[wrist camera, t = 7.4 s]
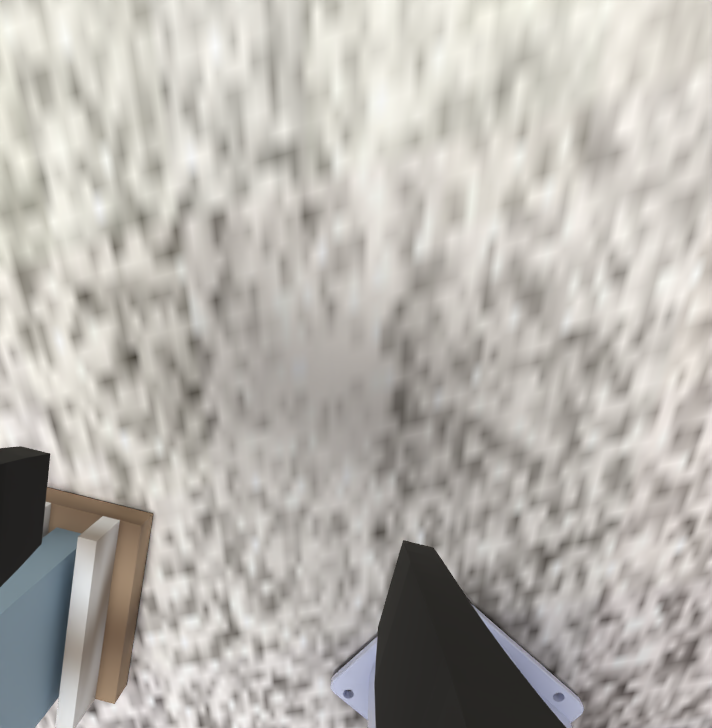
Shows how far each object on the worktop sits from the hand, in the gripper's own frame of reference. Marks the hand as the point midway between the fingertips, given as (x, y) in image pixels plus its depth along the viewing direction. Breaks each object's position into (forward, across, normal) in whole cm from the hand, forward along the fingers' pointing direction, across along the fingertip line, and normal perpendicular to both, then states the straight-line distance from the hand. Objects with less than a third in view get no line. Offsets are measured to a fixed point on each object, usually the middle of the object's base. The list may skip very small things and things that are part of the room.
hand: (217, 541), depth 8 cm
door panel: (+9, +9, +12) cm, 18 cm away
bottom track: (+10, +9, +12) cm, 18 cm away
